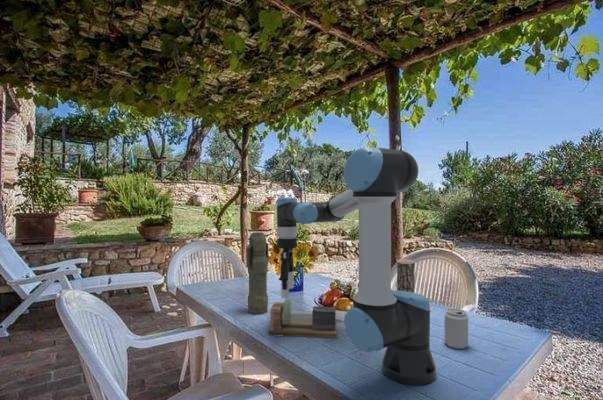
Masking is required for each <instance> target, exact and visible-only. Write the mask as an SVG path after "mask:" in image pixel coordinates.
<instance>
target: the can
mask: <svg viewBox="0 0 603 400" xmlns="http://www.w3.org/2000/svg"><path fill="white" fill-rule="evenodd" d="M444 343H445V344H446V345H447V346H448V347H449V348H451V349H454V350H455V349H456V350H464V349H465V348H467V347H468V346H469V316H468V315H467V312H466V311H465V310H464V309H459V308H448V309H446V312H445V313H444Z"/></svg>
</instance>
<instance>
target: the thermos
mask: <svg viewBox="0 0 603 400" xmlns="http://www.w3.org/2000/svg"><path fill="white" fill-rule="evenodd" d="M249 235H250V236H249V240H248V244H247V246H246V248H245V256H246V257H245V258H246V259H245V266H246V268H247V274H248V295H247V309H248V310H247V312H248V314H251V315H253V316H254V315H255V316H256V315H259V316H260V315H264V314H267V313H268V311H269V310H268V309H269V308H268V307H269V296H268V295H269V294H268V291H267V290H268V285H267V283H268V282H267V280H268V279H267V278H268V276H267V275H268V271H269V266H268V265H269V258H270V257H269V255H270V254H269V253H270V252H269V250H270V249H269V248H270V247H269V244H268V242H267V238H266V234H265V233H263V232H252V233H250V234H249Z"/></svg>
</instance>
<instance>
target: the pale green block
mask: <svg viewBox="0 0 603 400" xmlns="http://www.w3.org/2000/svg"><path fill="white" fill-rule="evenodd" d="M283 303H284V310H282V311H281V321H284V324H290V323H291V321H299V322H312V311H313V310H311V311H309V310H306V311H305V310H292V308H293V307H292V305H293V304H292V299H285V300H284V301H283Z"/></svg>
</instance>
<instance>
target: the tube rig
mask: <svg viewBox="0 0 603 400" xmlns="http://www.w3.org/2000/svg"><path fill="white" fill-rule="evenodd" d="M282 310H284V302H278V301H277V302H276V301H275V302H273V305H272V306H271V307H270V328H269V330H268V336H269V335H283V336H282V337H290V336H293V337H295V338H316V337H320V339H321V338H322V339H337V338H338V335H337V333H338V332H337V331H338V330H337V329H338V326H337V325H338V323H337V321H336V306H317V305H315V306H313V307H312V310H311V311H312V322H299V321H291V323H290V324H284V321H281V311H282ZM293 337H292V338H293Z"/></svg>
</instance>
